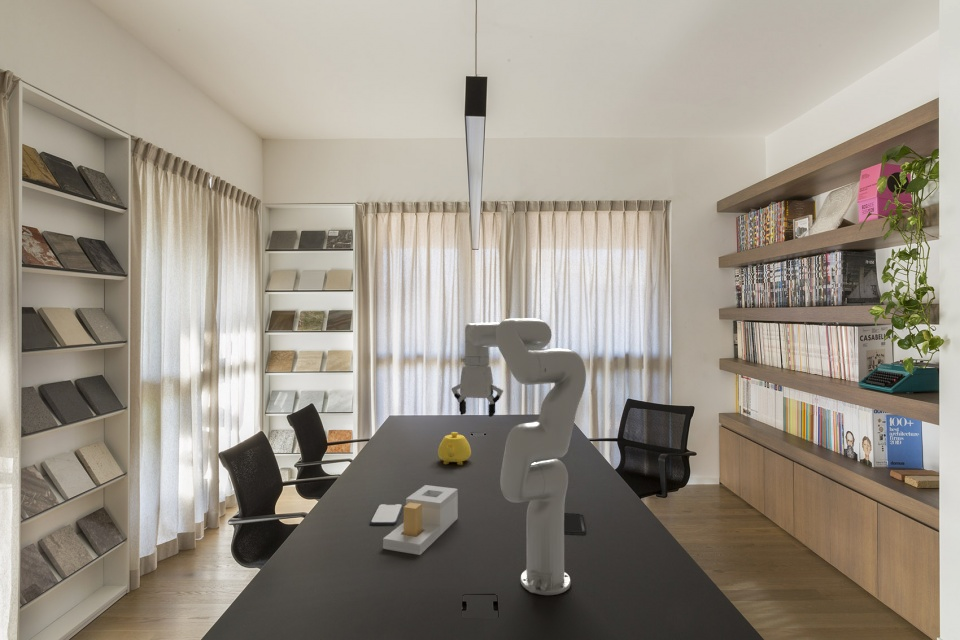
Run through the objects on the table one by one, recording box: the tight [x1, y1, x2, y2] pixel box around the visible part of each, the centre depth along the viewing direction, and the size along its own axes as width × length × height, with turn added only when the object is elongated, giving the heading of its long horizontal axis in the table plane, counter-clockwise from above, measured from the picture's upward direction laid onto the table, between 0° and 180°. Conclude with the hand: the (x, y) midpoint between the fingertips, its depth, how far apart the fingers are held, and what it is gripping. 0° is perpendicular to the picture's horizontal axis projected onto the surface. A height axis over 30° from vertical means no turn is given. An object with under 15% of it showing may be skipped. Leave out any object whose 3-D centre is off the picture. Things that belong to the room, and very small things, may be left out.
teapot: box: [437, 431, 472, 466], centre depth 238 cm, size 20×16×14 cm
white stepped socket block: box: [382, 484, 459, 556], centre depth 161 cm, size 28×12×10 cm, turn 160°
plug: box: [403, 502, 422, 537], centre depth 154 cm, size 4×4×10 cm
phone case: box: [369, 503, 404, 526], centre depth 175 cm, size 9×2×16 cm
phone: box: [564, 512, 586, 535], centre depth 167 cm, size 8×1×15 cm
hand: (477, 415), depth 164 cm, fingers open, 9 cm apart
